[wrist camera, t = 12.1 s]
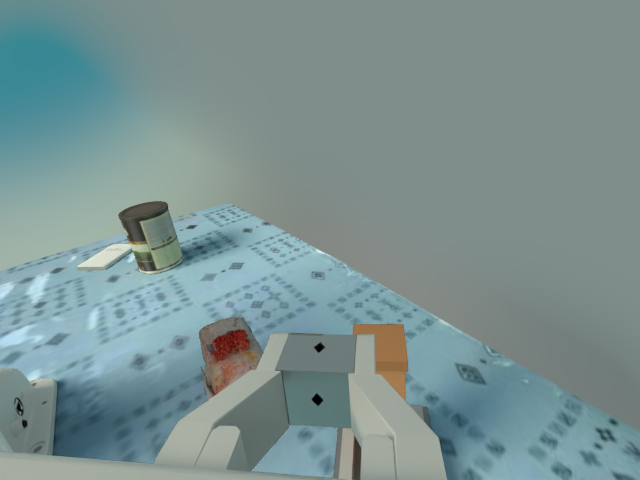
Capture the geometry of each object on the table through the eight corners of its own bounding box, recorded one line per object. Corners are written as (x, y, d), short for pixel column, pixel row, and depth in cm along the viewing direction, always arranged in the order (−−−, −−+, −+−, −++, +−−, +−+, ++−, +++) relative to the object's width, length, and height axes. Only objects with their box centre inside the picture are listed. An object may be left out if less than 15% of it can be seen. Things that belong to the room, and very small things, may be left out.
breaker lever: (408, 478, 33) (407, 361, 27) (362, 475, 34) (350, 360, 28) (404, 435, 37) (403, 324, 31) (363, 433, 38) (353, 324, 31)
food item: (290, 419, 42) (277, 357, 38) (225, 455, 39) (203, 391, 34) (254, 352, 53) (241, 298, 49) (201, 375, 50) (182, 320, 46)
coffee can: (134, 278, 79) (111, 220, 73) (145, 258, 88) (125, 205, 82) (181, 269, 80) (162, 212, 74) (186, 250, 90) (170, 198, 84)
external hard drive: (77, 272, 87) (113, 249, 97) (105, 272, 85) (138, 248, 96) (75, 266, 86) (111, 244, 97) (103, 266, 84) (136, 243, 95)
